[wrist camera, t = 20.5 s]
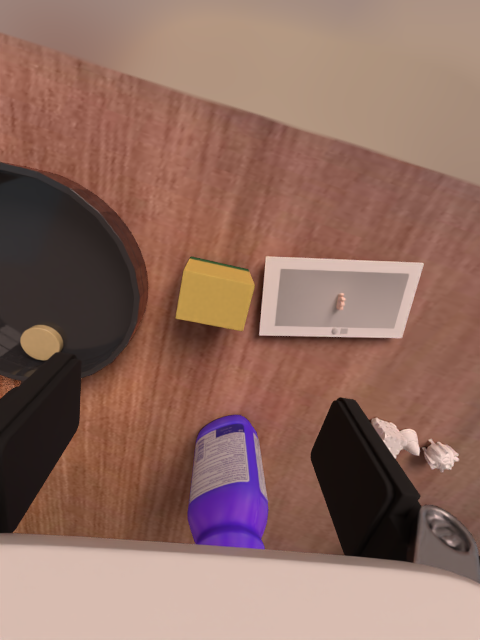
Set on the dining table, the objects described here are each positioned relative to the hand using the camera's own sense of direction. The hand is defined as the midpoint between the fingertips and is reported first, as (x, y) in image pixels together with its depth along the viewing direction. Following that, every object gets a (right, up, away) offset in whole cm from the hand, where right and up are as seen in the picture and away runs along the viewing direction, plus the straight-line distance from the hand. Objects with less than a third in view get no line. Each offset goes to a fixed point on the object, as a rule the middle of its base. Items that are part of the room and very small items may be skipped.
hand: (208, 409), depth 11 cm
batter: (-18, +1, +17) cm, 25 cm away
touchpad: (+11, +6, +18) cm, 22 cm away
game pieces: (+22, -12, +27) cm, 37 cm away
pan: (-16, +7, +16) cm, 24 cm away
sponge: (-1, +7, +17) cm, 18 cm away
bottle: (0, -10, +24) cm, 26 cm away
